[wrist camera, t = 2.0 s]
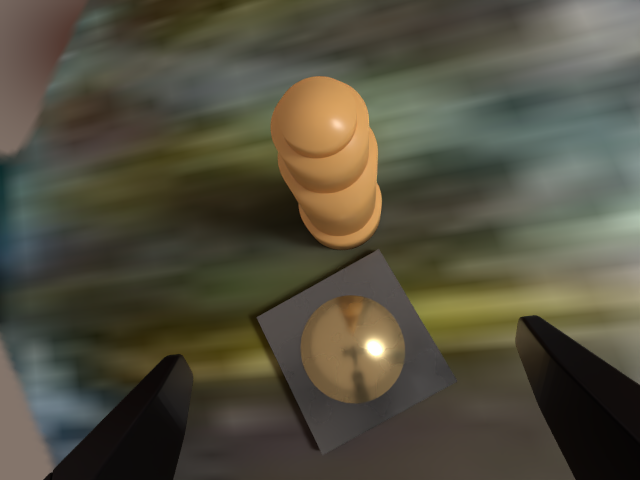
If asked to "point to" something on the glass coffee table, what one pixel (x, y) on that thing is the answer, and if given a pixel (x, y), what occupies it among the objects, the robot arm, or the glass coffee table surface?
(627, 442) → the robot arm
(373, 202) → the tan bulged column
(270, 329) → the plate
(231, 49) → the glass coffee table surface
